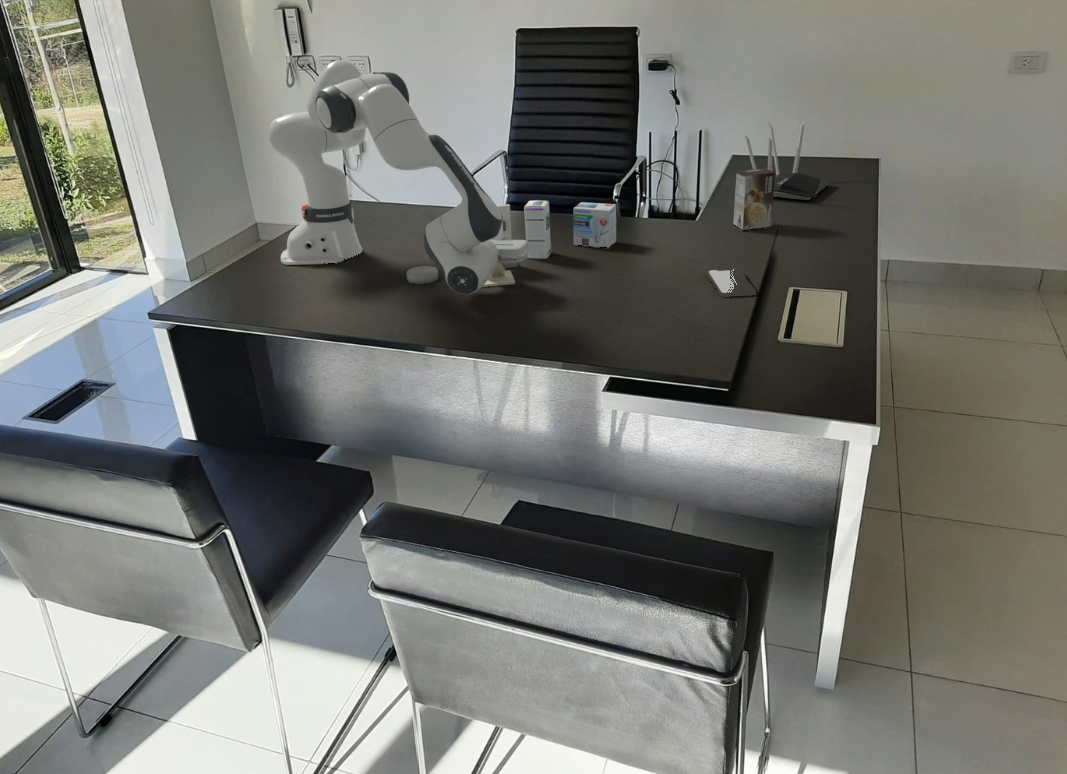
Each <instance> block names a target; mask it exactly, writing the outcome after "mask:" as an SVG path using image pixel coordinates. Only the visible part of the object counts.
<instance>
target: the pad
mask: <svg viewBox="0 0 1067 774" xmlns="http://www.w3.org/2000/svg"><path fill="white" fill-rule="evenodd" d="M505 272H506V274H505V275H504V276H501V277H495V278H491V277H489V279H488V280H487V282H486V283H485V284H484V285H483V286H482V287H481V288H488V286H489V287H497V286H499V285H500V286H507V285H510V286H511V285H516V281H515V278H514V276H513V273H512V271H511V270H510V269H509V270H506V269H505Z"/></svg>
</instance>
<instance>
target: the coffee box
mask: <svg viewBox="0 0 1067 774" xmlns="http://www.w3.org/2000/svg"><path fill="white" fill-rule="evenodd" d="M735 172H736V173H735V189H734V190H735V191H734V192H735V193H734V206H733V207H734V208H733V210H734V211H733V224H734V225H736V226H738V227H739V228H741V229H752V228H762V227H769V226H771V227H772V219H773V207H774V198H773V194H774V181H775V178H776V171H773V170H772V171H770V170H768V168H756V169H753V168H752V169H746V170H743V169H742V170H737V171H735Z"/></svg>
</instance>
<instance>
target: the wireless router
mask: <svg viewBox="0 0 1067 774" xmlns="http://www.w3.org/2000/svg"><path fill="white" fill-rule="evenodd" d="M805 123H806V120H805V119H802V120H801V123H800V128H799V134H798V140H797V144H796V151H795V156H794V161H793V169H792V173H797V174H787V175H786V174H784V175H783V174H782V173H780V166H779V160H778V153H777V147H776V141H775V133H774V128H773V126H772V124H770V122H769V123H768V126H769V127H768V128H769V134H770V138H768V150H767V151H768V153H767V169H768V170H770V171H773V161H774V167H775V175H776V176H775V181H774V192H775V193H783V194H791V195H796V196H801V197H813V196H814V195H815V193H816V191H817V189H818V187H819V184H820V179H818V178H819V177H818V178H814V177H815V176H812V175H807V174H804V173H801V172H798V171H799V165H800V159H801V158H800V157H801V151H802V145H803V144H802V143H803V137H804V130H805ZM744 137H745V142H746V146H747V150H748V153H749V159H750V163H751V166H752V169H757V166H756V162H755V158H754V153H753V150H752V145H751V141H750V138H749V137H748V136H747V135H744ZM773 159H774V160H773ZM779 174H780V175H779ZM777 175H779V176H778V177H777ZM811 176H812V177H811Z"/></svg>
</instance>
